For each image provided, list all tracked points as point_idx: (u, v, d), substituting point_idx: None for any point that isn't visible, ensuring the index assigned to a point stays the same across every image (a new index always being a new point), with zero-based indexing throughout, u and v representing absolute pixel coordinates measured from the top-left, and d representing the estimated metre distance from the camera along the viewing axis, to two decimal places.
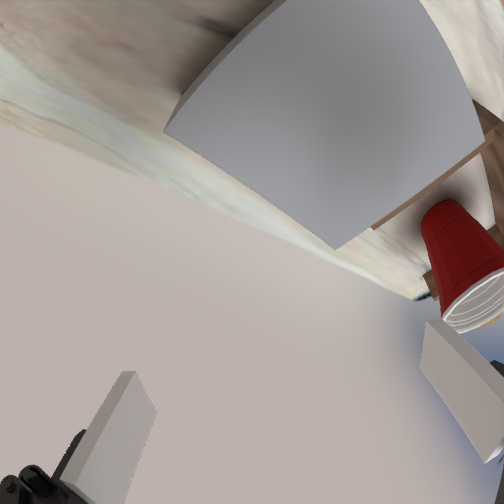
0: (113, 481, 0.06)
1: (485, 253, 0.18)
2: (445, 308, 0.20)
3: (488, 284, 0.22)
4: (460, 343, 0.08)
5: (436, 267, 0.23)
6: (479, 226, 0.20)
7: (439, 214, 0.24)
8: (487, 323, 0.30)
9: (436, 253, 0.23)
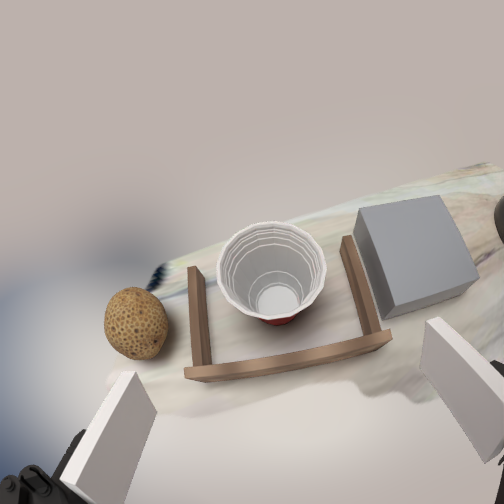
0: (113, 481, 0.06)
1: None
2: (293, 232, 0.30)
3: (237, 299, 0.30)
4: (460, 343, 0.08)
5: (289, 259, 0.34)
6: None
7: None
8: (119, 303, 0.30)
9: None
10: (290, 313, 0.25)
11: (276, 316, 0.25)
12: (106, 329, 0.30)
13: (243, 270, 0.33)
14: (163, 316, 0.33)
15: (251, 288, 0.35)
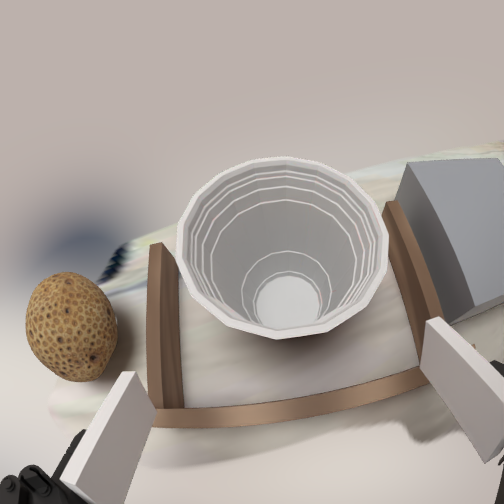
0: (113, 481, 0.06)
1: None
2: None
3: (218, 294, 0.16)
4: (460, 343, 0.08)
5: (310, 229, 0.20)
6: None
7: None
8: (40, 294, 0.17)
9: None
10: (325, 326, 0.11)
11: (295, 332, 0.11)
12: (26, 333, 0.16)
13: (232, 245, 0.19)
14: (105, 318, 0.19)
15: (246, 278, 0.22)
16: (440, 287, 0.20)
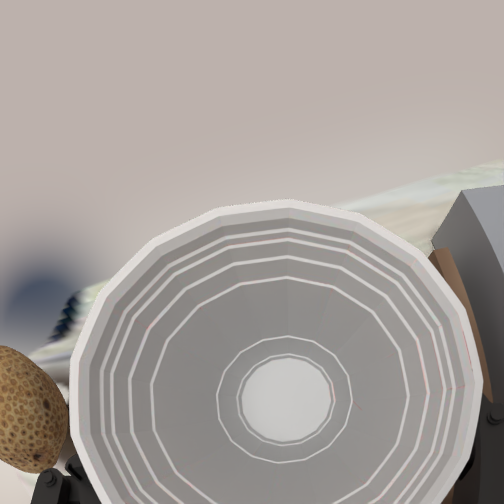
0: None
1: None
2: (356, 243, 0.08)
3: (167, 450, 0.07)
4: None
5: (326, 316, 0.11)
6: (343, 452, 0.09)
7: None
8: None
9: None
10: None
11: None
12: None
13: (193, 350, 0.11)
14: (42, 415, 0.11)
15: (223, 378, 0.13)
16: (490, 367, 0.11)
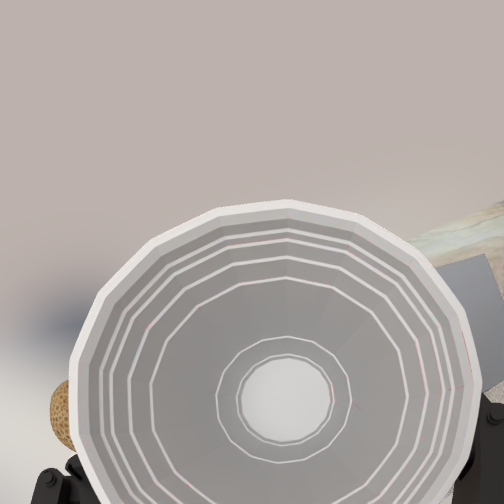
0: None
1: None
2: (355, 243, 0.08)
3: (166, 450, 0.07)
4: None
5: (326, 317, 0.11)
6: (342, 452, 0.09)
7: None
8: (61, 404, 0.18)
9: None
10: None
11: None
12: None
13: (193, 350, 0.11)
14: None
15: (223, 378, 0.13)
16: None
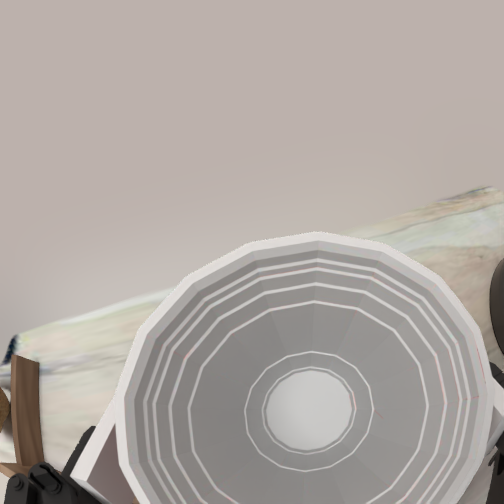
0: (123, 477, 0.07)
1: None
2: None
3: (205, 468, 0.08)
4: None
5: (349, 333, 0.12)
6: None
7: None
8: None
9: None
10: None
11: None
12: None
13: (225, 372, 0.11)
14: None
15: (250, 394, 0.14)
16: None
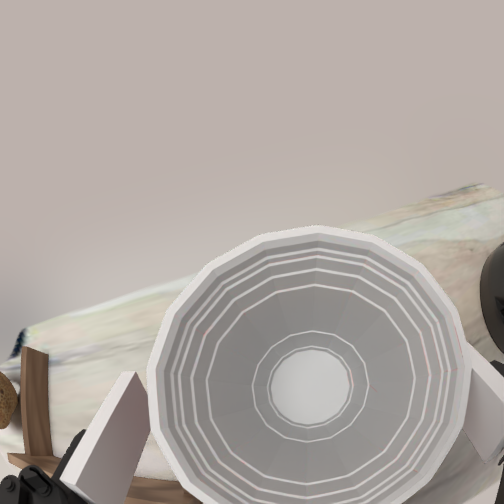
0: (113, 481, 0.06)
1: None
2: None
3: (221, 435, 0.10)
4: None
5: (345, 314, 0.13)
6: (363, 429, 0.11)
7: None
8: None
9: None
10: None
11: None
12: None
13: (236, 349, 0.13)
14: None
15: (257, 370, 0.15)
16: None
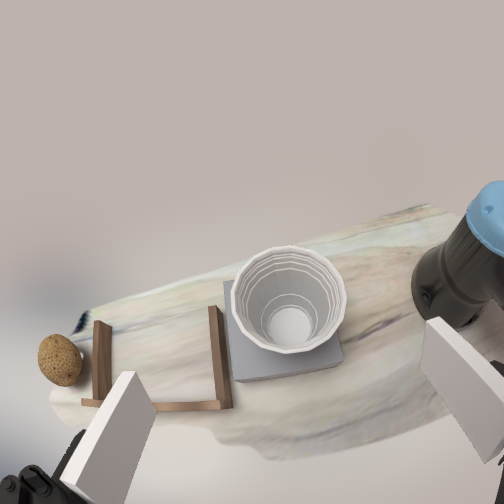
0: (113, 481, 0.06)
1: None
2: (311, 258, 0.28)
3: (251, 327, 0.28)
4: (460, 343, 0.08)
5: (305, 283, 0.32)
6: (313, 338, 0.29)
7: None
8: (44, 347, 0.35)
9: None
10: (308, 347, 0.23)
11: (294, 350, 0.23)
12: None
13: (257, 295, 0.31)
14: (74, 358, 0.37)
15: (263, 312, 0.34)
16: None
